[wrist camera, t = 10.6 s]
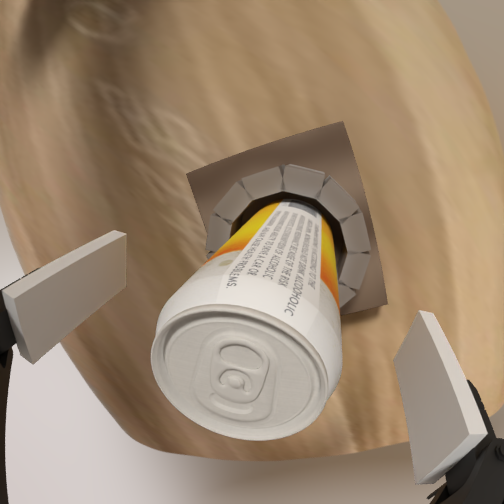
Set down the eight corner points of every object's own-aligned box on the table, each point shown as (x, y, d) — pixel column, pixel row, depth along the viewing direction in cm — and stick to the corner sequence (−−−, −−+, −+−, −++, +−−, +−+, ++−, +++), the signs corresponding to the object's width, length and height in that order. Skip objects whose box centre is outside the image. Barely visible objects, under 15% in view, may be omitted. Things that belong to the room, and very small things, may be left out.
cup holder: (198, 171, 24) (167, 177, 19) (340, 124, 21) (346, 115, 15) (252, 318, 28) (237, 354, 22) (382, 290, 24) (394, 324, 19)
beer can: (243, 266, 23) (144, 412, 9) (257, 188, 21) (136, 265, 7) (320, 285, 22) (305, 461, 9) (342, 208, 20) (378, 329, 6)
